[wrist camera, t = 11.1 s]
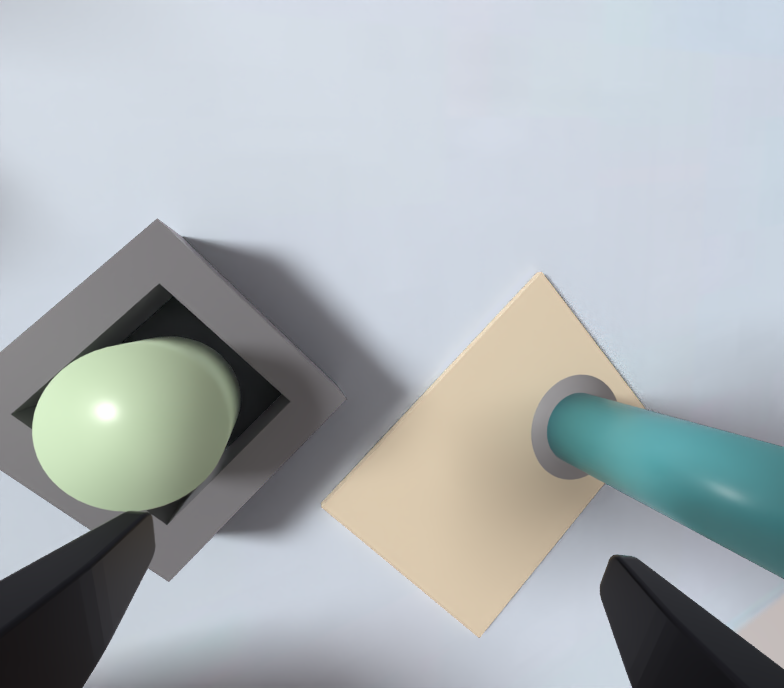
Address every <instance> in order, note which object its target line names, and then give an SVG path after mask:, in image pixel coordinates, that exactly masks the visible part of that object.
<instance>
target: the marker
mask: <svg viewBox="0 0 784 688" xmlns="http://www.w3.org/2000/svg"><path fill="white" fill-rule="evenodd" d="M547 439H548V443H549V446H550V448H551V450H552V452H553V453H554V454H555V455H556V456H557V457H558V458H559V459H561V460H562V461H564V462H566V463H568V464H570V465H572V466H574V467H575V468H577V469H579V470H581V471H583V472H585V473H587V474H589V475H590V476H592V477H594V478H596V479H598V480H600V481H602V482H604V483H605V484H607V485H609V486H611V487H613V488H615V489H617V490H618V491H620V492H622V493H624V494H626V495H628V496H630V497H632V498H633V499H635V500H637V501H639V502H641V503H643V504H645V505H647V506H648V507H650V508H652V509H654V510H656V511H658V512H660V513H662V514H663V515H665V516H667V517H669V518H671V519H673V520H675V521H676V522H678V523H680V524H682V525H684V526H686V527H688V528H690V529H691V530H693V531H695V532H697V533H699V534H701V535H703V536H705V537H706V538H708V539H710V540H712V541H714V542H716V543H718V544H719V545H721V546H723V547H725V548H727V549H729V550H731V551H733V552H734V553H736V554H738V555H740V556H742V557H744V558H746V559H748V560H749V561H751V562H753V563H755V564H757V565H759V566H761V567H763V568H764V569H766V570H768V571H770V572H772V573H774V574H776V575H777V576H779V577H781V578H783V579H784V447H782V446H778V445H775V444H771V443H767V442H763V441H760V440H756V439H752V438H749V437H745V436H741V435H738V434H734V433H730V432H727V431H723V430H719V429H716V428H712V427H708V426H704V425H701V424H697V423H693V422H690V421H686V420H682V419H679V418H675V417H671V416H668V415H664V414H660V413H657V412H653V411H649V410H646V409H642V408H638V407H634V406H631V405H627V404H623V403H620V402H616V401H612V400H609V399H605V398H601V397H598V396H594V395H590V394H587V393H574V394H571V395H569V396H567V397H565V398H564V399H562V400H561V401H560V402H559V403H558V404H557V405H556V407H555V408H554V410H553V411H552V413H551V416H550V418H549V421H548V426H547Z"/></svg>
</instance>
